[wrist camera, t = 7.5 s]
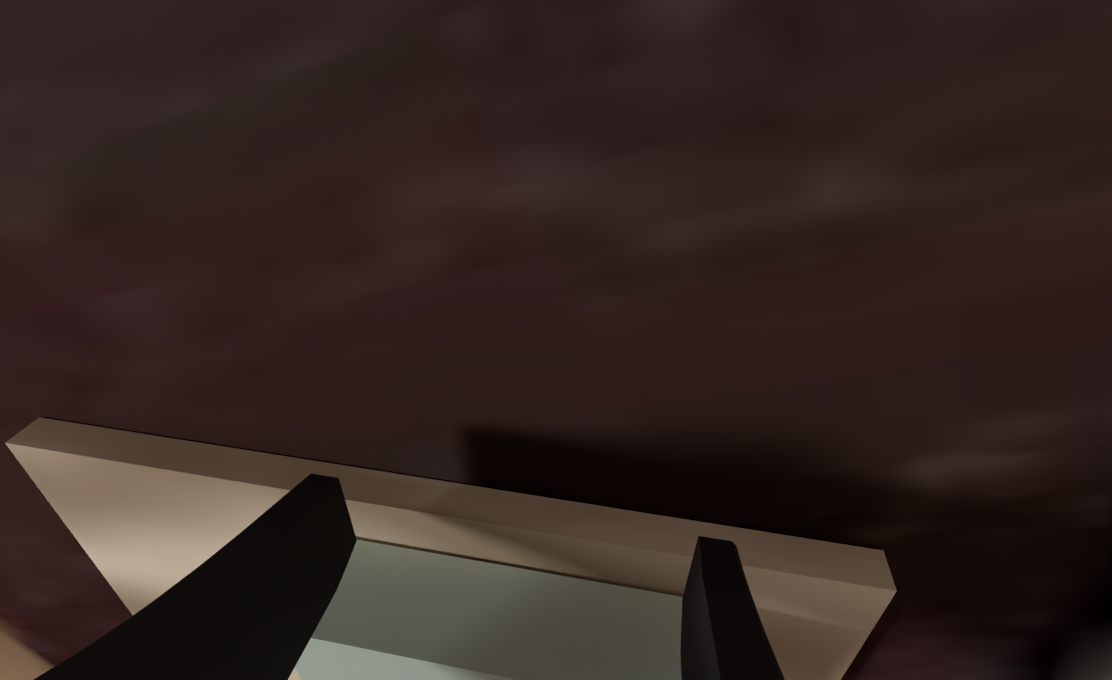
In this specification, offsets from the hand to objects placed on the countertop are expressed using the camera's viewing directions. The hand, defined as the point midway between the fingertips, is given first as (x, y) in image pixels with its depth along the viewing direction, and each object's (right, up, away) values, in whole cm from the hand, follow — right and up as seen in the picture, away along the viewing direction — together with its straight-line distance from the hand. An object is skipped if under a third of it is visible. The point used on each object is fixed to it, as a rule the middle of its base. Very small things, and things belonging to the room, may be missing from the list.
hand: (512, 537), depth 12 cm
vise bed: (-3, -6, +8) cm, 10 cm away
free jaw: (0, -4, +4) cm, 5 cm away
